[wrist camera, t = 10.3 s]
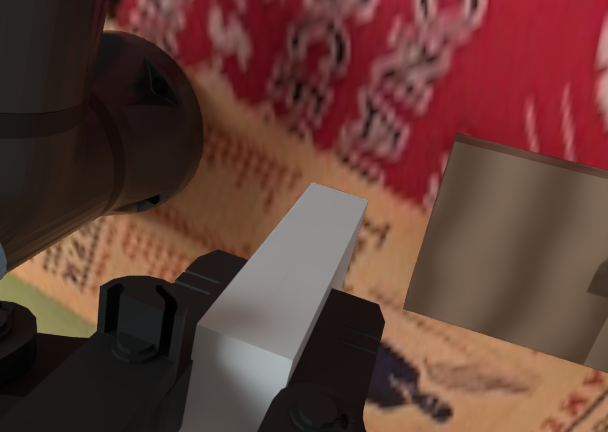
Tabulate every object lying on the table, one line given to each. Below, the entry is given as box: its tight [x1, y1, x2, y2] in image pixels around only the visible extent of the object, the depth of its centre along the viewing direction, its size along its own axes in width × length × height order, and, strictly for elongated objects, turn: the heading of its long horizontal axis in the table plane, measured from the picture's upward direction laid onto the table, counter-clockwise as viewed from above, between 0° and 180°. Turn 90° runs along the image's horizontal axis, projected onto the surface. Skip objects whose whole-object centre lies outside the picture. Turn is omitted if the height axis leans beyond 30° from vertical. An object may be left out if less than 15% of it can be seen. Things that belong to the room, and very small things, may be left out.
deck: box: [403, 133, 608, 373], centre depth 39 cm, size 22×14×2 cm, turn 80°
